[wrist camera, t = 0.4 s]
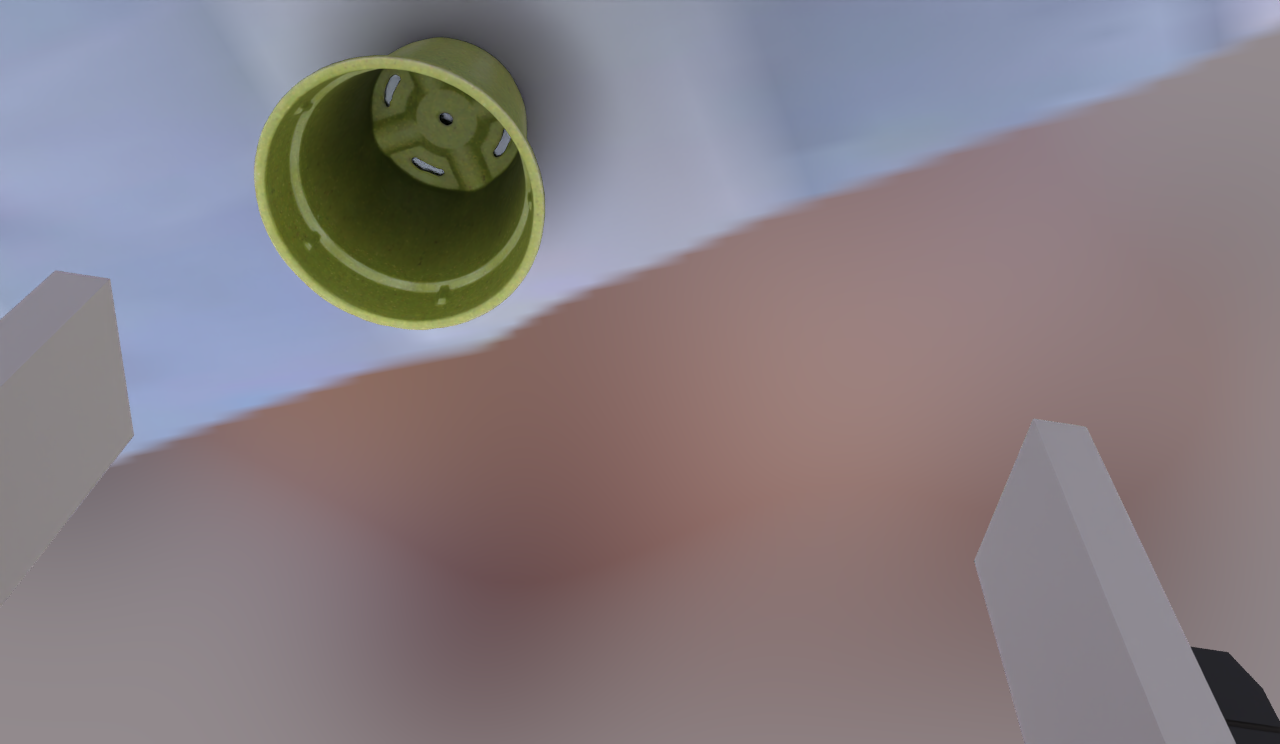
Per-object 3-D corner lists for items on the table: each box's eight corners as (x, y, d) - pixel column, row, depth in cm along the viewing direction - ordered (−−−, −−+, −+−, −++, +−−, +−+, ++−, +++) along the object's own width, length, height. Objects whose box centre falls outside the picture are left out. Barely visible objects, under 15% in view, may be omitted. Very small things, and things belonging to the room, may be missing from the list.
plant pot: (608, 55, 41) (589, 134, 33) (521, 260, 45) (487, 369, 38) (369, -53, 39) (293, 4, 32) (304, 172, 44) (225, 267, 36)
